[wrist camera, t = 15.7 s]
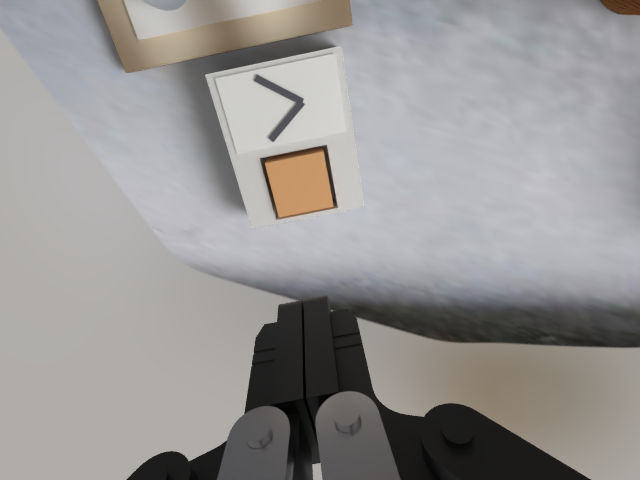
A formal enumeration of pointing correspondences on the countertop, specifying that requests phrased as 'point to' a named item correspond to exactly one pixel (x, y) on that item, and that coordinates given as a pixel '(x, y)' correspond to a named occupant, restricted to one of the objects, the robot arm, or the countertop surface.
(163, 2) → the marker
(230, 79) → the panel
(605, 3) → the disposable coffee cup
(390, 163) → the countertop surface
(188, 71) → the countertop surface
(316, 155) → the button
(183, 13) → the drawing board
